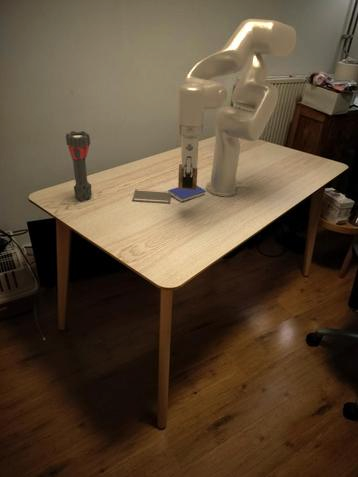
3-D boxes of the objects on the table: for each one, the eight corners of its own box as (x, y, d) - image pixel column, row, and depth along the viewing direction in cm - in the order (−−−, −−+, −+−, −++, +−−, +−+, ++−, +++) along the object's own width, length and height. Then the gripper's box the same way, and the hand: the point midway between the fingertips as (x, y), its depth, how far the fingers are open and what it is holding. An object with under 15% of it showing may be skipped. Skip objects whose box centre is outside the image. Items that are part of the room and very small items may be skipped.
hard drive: (191, 182, 133) (167, 189, 125) (206, 190, 128) (181, 198, 121) (191, 185, 133) (167, 193, 126) (205, 193, 129) (181, 202, 122)
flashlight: (88, 189, 126) (81, 128, 113) (99, 196, 122) (93, 134, 109) (69, 194, 122) (60, 132, 109) (80, 202, 117) (72, 139, 104)
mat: (171, 192, 128) (171, 191, 128) (170, 203, 121) (170, 202, 120) (135, 190, 128) (135, 189, 128) (132, 201, 120) (132, 200, 120)
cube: (196, 181, 113) (197, 165, 110) (196, 189, 109) (197, 172, 105) (178, 180, 113) (179, 164, 110) (178, 188, 109) (178, 172, 105)
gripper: (203, 139, 93) (199, 195, 104) (201, 120, 107) (198, 172, 117) (176, 138, 93) (175, 194, 104) (178, 119, 107) (177, 171, 117)
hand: (187, 182), depth 110 cm, fingers closed on cube, 6 cm apart
